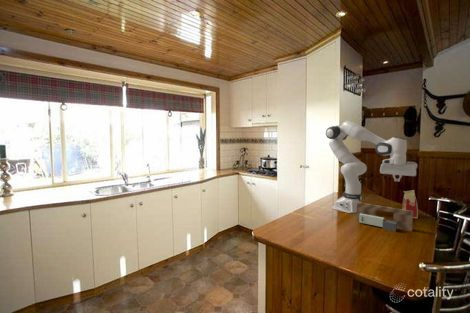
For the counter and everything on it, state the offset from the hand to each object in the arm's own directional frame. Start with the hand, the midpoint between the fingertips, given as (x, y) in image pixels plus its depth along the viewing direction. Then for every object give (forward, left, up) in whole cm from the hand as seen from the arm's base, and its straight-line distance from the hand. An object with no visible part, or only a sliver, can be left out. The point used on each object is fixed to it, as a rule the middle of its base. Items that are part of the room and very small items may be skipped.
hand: (397, 181), depth 160 cm
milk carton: (+6, +24, -29) cm, 38 cm away
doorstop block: (-1, -14, -29) cm, 33 cm away
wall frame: (-6, -8, -29) cm, 31 cm away
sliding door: (-12, -14, -28) cm, 34 cm away
